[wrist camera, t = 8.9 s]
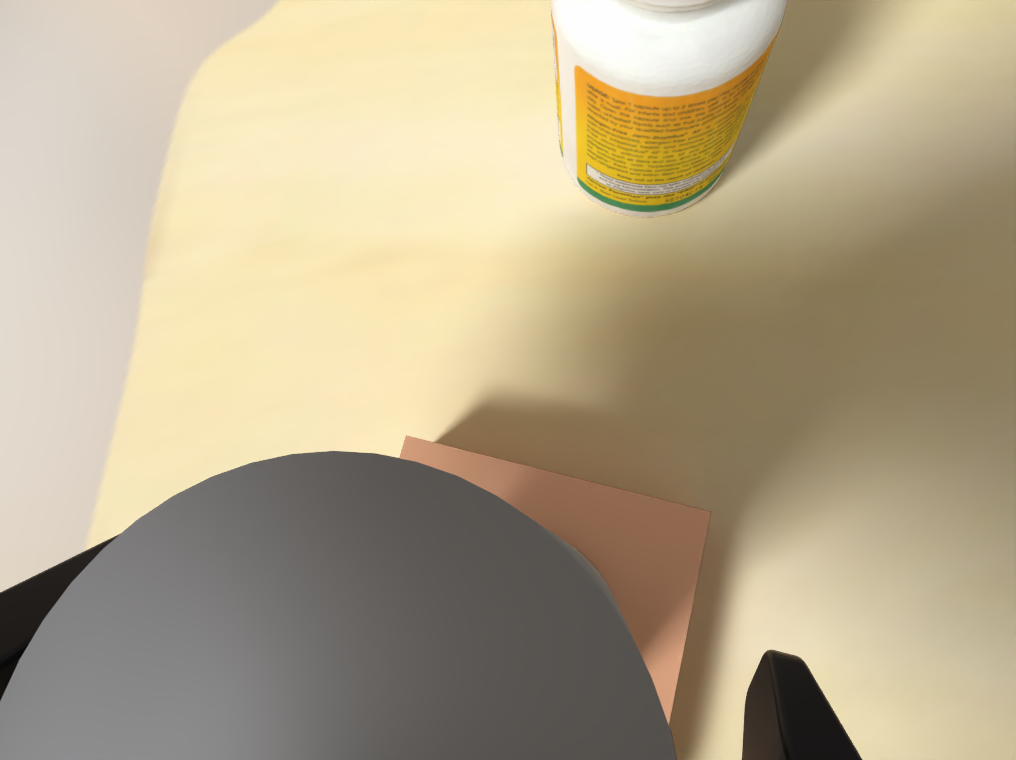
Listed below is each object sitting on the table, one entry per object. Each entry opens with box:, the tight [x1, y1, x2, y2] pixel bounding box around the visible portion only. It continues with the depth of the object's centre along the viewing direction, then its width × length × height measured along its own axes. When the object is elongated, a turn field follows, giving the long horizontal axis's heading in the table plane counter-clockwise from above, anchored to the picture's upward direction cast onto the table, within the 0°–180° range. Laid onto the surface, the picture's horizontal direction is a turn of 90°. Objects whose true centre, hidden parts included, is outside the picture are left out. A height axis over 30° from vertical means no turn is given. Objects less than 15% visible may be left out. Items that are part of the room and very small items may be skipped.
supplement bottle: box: [551, 0, 787, 218], centre depth 18 cm, size 5×5×10 cm
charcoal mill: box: [0, 451, 677, 760], centre depth 11 cm, size 5×5×13 cm
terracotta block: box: [400, 436, 711, 725], centre depth 19 cm, size 8×8×3 cm
